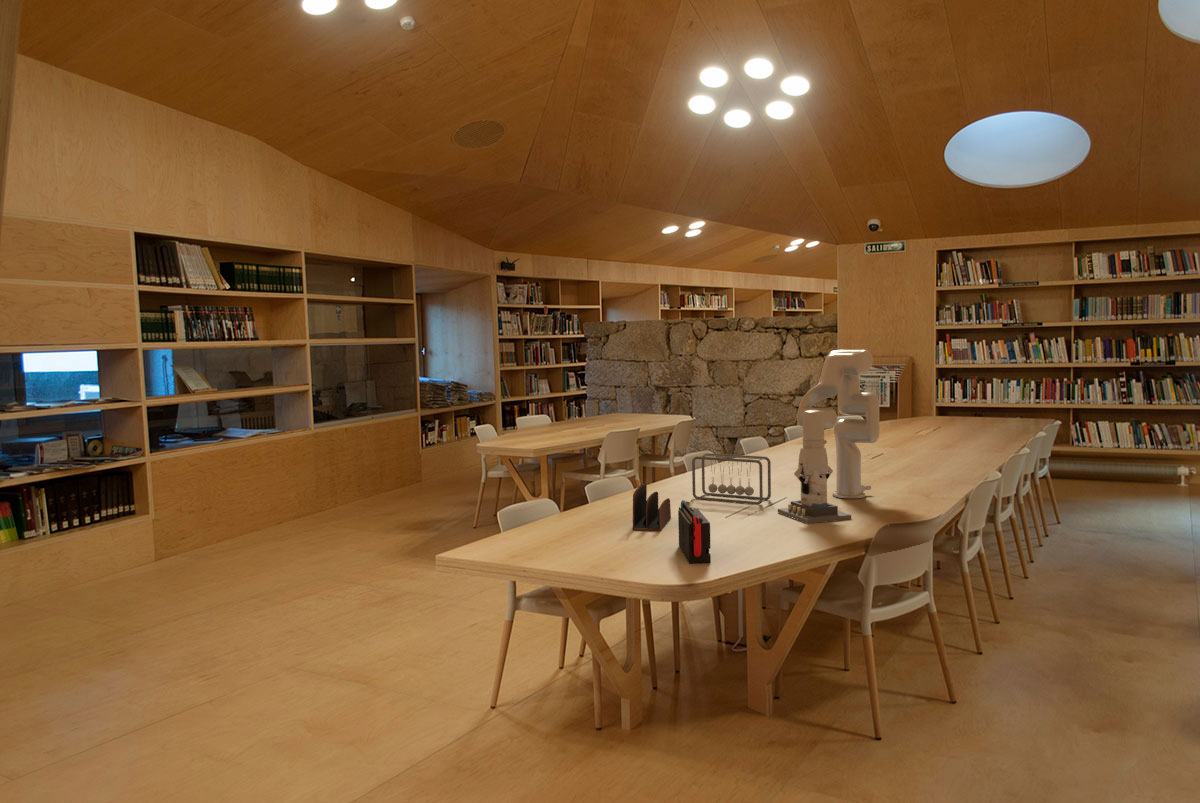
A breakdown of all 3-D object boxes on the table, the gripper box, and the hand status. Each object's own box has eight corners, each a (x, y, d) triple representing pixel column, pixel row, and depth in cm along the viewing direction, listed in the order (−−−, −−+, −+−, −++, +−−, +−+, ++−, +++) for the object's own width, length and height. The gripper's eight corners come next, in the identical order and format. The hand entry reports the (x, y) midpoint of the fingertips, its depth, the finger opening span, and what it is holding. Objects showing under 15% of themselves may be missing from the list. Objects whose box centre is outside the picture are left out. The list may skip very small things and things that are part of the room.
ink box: (828, 510, 295) (827, 469, 294) (819, 512, 292) (819, 471, 290) (808, 506, 301) (808, 467, 300) (800, 508, 298) (799, 469, 297)
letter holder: (632, 530, 281) (631, 490, 280) (644, 518, 300) (643, 480, 299) (660, 532, 279) (659, 491, 278) (671, 519, 298) (670, 481, 297)
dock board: (819, 508, 309) (819, 496, 308) (851, 518, 290) (851, 506, 290) (777, 512, 303) (777, 500, 303) (807, 523, 284) (807, 511, 284)
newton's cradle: (692, 499, 333) (691, 456, 332) (702, 494, 342) (702, 452, 341) (762, 505, 317) (761, 460, 316) (771, 500, 326) (770, 456, 325)
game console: (677, 543, 262) (676, 499, 261) (696, 542, 262) (695, 498, 261) (691, 568, 234) (690, 518, 233) (713, 567, 234) (712, 517, 233)
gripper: (827, 441, 301) (828, 489, 302) (787, 444, 295) (787, 493, 297) (840, 443, 294) (840, 492, 295) (798, 447, 288) (798, 497, 290)
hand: (813, 492), depth 296 cm, fingers closed on ink box, 6 cm apart
